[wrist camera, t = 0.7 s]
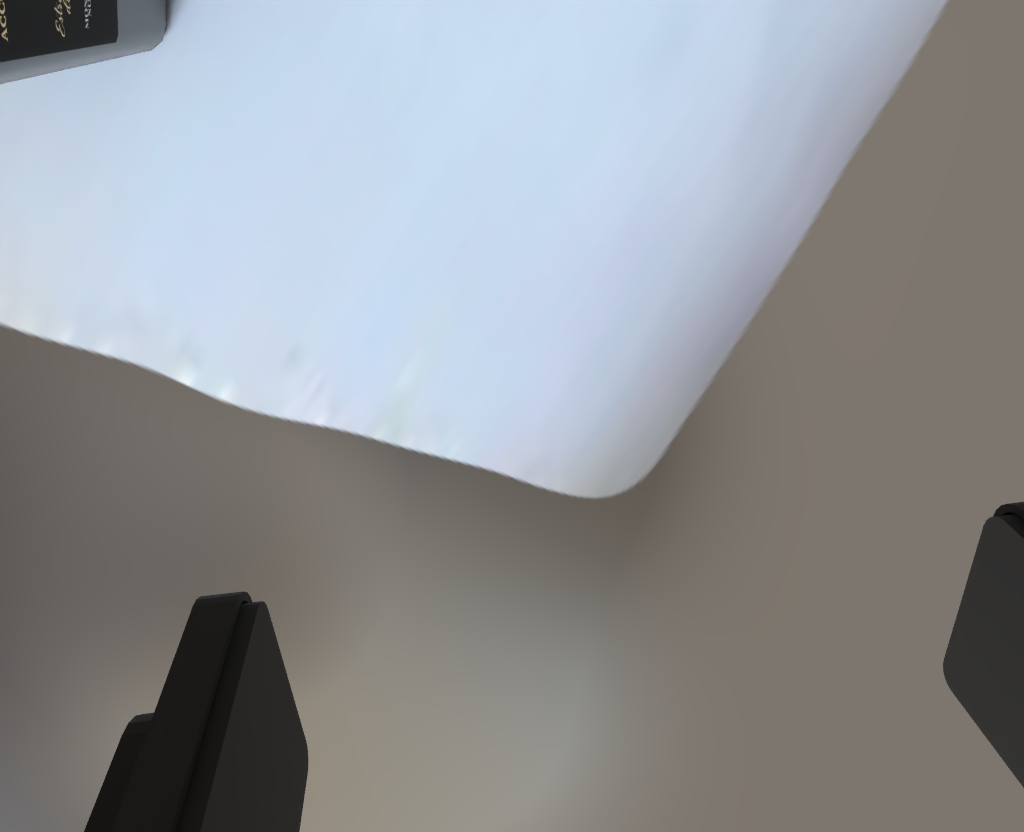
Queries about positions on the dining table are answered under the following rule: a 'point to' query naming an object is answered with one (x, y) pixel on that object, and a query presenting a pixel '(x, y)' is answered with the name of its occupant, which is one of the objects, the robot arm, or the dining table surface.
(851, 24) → the dining table surface
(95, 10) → the wine bottle
